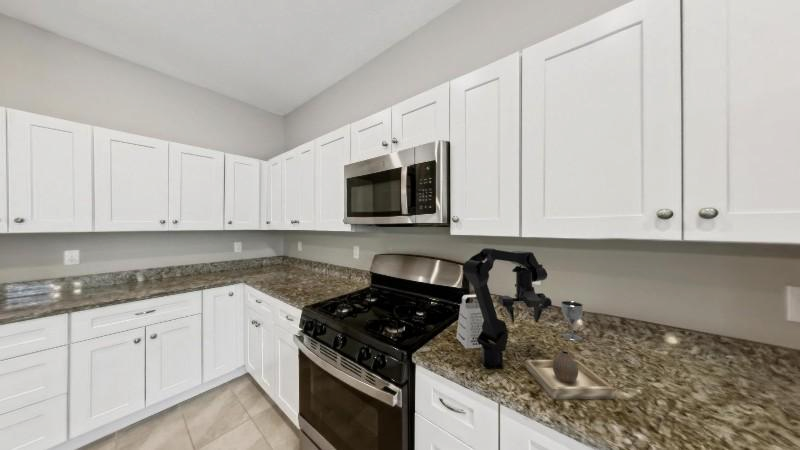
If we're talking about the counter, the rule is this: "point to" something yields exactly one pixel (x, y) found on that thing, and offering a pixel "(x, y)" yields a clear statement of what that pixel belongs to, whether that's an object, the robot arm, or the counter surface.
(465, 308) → the grater
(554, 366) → the vase
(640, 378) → the counter surface
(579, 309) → the wine glass
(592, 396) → the tray
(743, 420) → the counter surface
